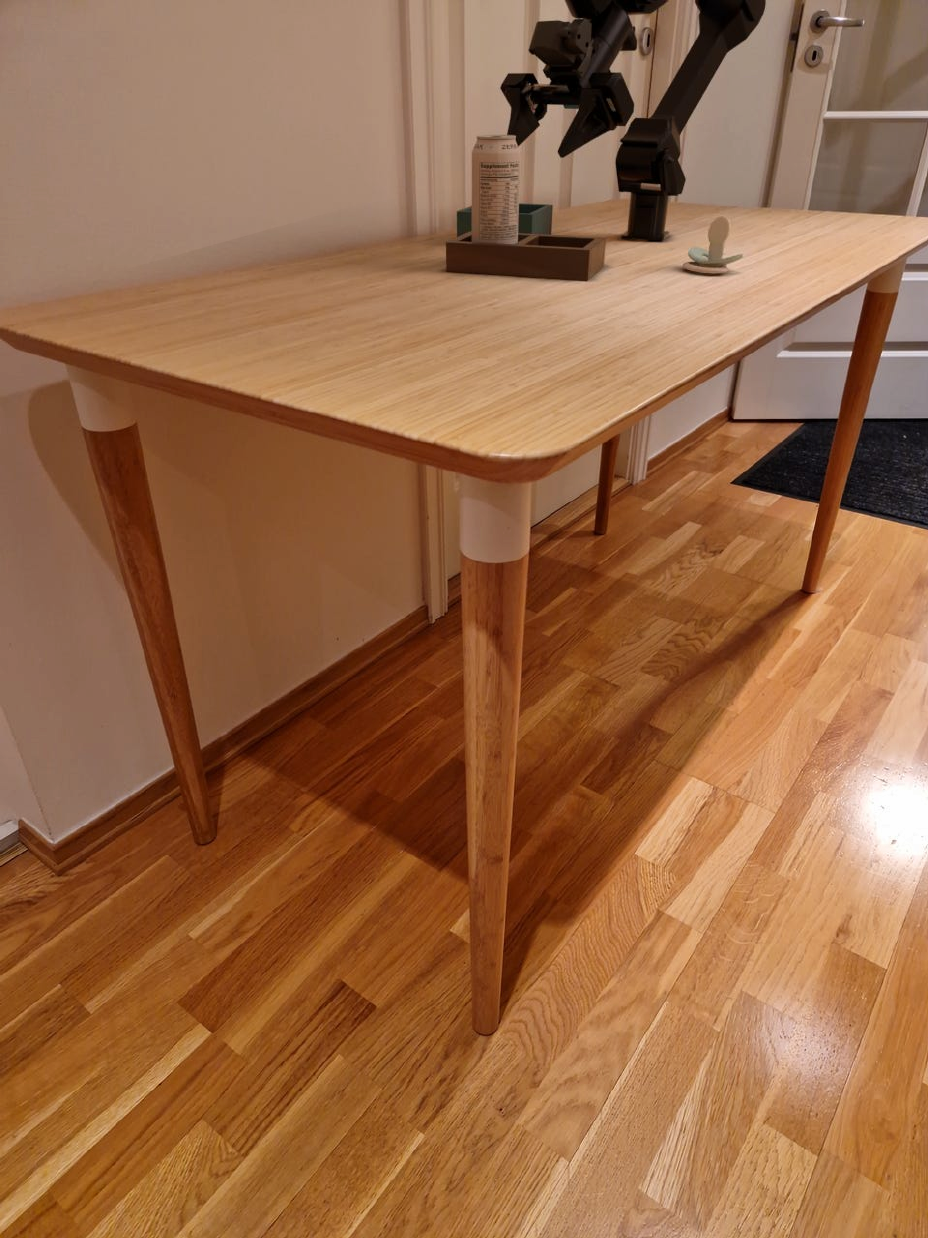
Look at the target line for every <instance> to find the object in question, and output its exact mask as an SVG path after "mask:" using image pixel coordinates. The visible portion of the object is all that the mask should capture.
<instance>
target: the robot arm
mask: <svg viewBox="0 0 928 1238" xmlns="http://www.w3.org/2000/svg"><path fill="white" fill-rule="evenodd" d="M564 2H565V4H566V7H567V9H568V11H569V13H570V15H571V17H572V18H574V19H573V20H572V22H570V21H563V20H559V19H557V20H556V19H555V20H539V21H537V22H536V23H535V26H534V30H533V34H532V37H531V40H530V43H529V47H528V53H529V54H530V55H532V56H535V57H537V58H538V60H540V61H541V62H542V63H543V64H544V67H543V69H542V72H543V75H544V76H545V78H546V79H549V80H550V82H549V83H539V82H538V79H537V77H536V76H535V73H534V72H507V74H506V76H505V78H504V80H503V81H502V83H501V84H500V87H499V89H500V91H501V93H502V94H503V96H504V98H505V99H506V101H507V103H508V105H509V107H510V115H509V123H508V128H507V132H506V135H515V136H516V139H515V140H516V143H517V145H518V147H520V146H521V145H522V144H523V143H524V142H525V141H526V140H527V139H528V138H529V137H530V136H531V135H532V134H533V133H534V132H535V131H536V130H537V129H538V128H539V127H540V126H541V124H540V121H541V120H543V119H544V118H545V116H546V114H547V113H548V105H549V106H550V105H551V106H563V108H564V109H565V110H577V112H576V114H575V115H574V118H573V120H572V121H571V122H570V125H569V126H568V129H567V130H566V132H565V135H564V136H563V138H562V140H561V142H560V143H559V146H558V149H557V154H558V156H559V158H560V159H564V158H565V157H567V156H569V155H570V154H572V153H574V152H575V151H577V150H579V149H580V148H582V147H583V146H585V145H586V144H588V143H590V142H593V140H595V139H597V138H599V137H601V136H602V135H604V134H606V133H608V132H610V131H616V129H617V128H618V127H626V126H627V124H628V122H629V121H630V119H631V118H632V116H633V115H634V112H635V102H634V99H633V97H632V95H631V92H630V90H629V88H628V85H627V83H626V80H625V78H624V76H623V74H622V71H621V72H613V71H612V70H611V67H612V66H613V64H614V62H615V60H616V59H617V57H618V55H619V54H620V52H635V51H637V50H638V39H637V35H636V26H634V25H633V23H632V21H631V18H630V16H640V15H641V16H642V15H651V14H653V13H655V12H657V10H659V9H660V8H662V7H663V6H664V5H666V4H667V2H668V0H564ZM766 2H767V0H694V4H695V6H696V7H697V9H698V12H699V13H698V35H697V36H696V39H695V41H694V43H692V45H691V47H690V49H689V51H688V53H687V54H686V56H685V58H684V60H683V61H682V63H681V65H680V66H679V68H678V70H677V71H676V73H675V75H674V77H673V78H672V80H671V82H670V84H669V86H668V87H667V90H666V91H665V93H664V94H663V96H662V98H661V100H660V101H659V103H658V105H657V106H656V108H655V110H654V111H653V113H652V114H651V116H650V117H635V118H634V119H633V120H632V121H631V122H630V124H629V125H628V128H627V130H626V133H625V134H624V136H623V137H622V138H620V139H619V142H620V143H621V144H620V146H619V147H618V150H617V152H616V155H615V160H614V164H615V171H616V172H615V173H616V181H617V189H618V190H617V191H618V193H630V196H629V197H630V198H629V207H628V208H629V210H628V219H627V229H626V231H625V232H623V233H622V234H621V237H620V238H621V239H623V240H640V241H641V240H642V241H643V240H644V241H665V240H666V239H667V237H669V236H670V231H668V230H666V225H667V214H668V207H669V199H670V197H678V196H679V195H682V193H683V191H684V188H685V184H686V181H687V177H686V176H685V173H684V170H683V168H682V165H681V164H680V161H679V159H680V157H681V154H682V152H681V151H682V149H681V135H682V133H683V131H684V129H685V127H686V126H687V123H688V122H689V120H690V118H691V117H692V115H693V113H694V111H695V110H696V108H697V106H698V105H699V103H700V101H701V99H702V98H703V95H704V94H705V93H706V90H707V89H708V87H709V85H710V83H711V82H712V80H713V78H714V77H715V75H716V73H717V71H718V69H719V68H720V66H721V64H722V62H723V61H724V59H725V58H726V55H727V54H728V53H729V52H731V51H732V50H734V48H736V47H738V46H739V45H741V44H742V43H744V42H745V41H747V40H748V38H749V37H750V36H751V35H752V33H753V31H754V30H755V29H756V28H757V27H758V25H759V23H760V22H761V20H762V17H763V16H764V13H765V11H766V6H767V3H766ZM644 184H646V185H644ZM653 185H654V186H653ZM655 185H657V186H655ZM658 185H659V186H658Z"/></svg>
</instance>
